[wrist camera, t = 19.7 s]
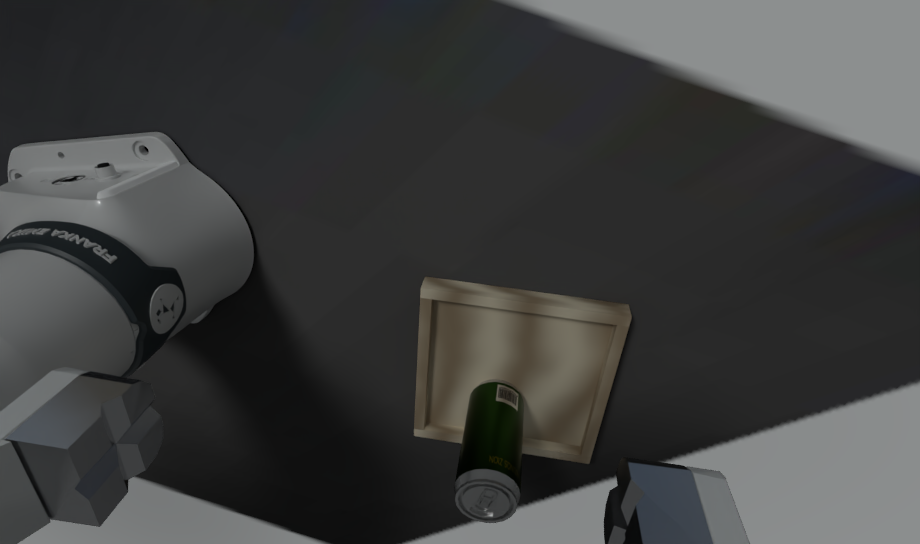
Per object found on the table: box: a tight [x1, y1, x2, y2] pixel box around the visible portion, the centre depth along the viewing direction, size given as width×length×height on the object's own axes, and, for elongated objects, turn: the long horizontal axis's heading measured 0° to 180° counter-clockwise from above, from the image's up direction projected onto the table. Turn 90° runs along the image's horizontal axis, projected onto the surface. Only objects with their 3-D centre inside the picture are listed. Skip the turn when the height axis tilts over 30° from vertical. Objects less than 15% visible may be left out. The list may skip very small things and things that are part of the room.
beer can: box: [454, 379, 524, 523], centre depth 47 cm, size 5×5×12 cm
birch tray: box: [414, 277, 632, 464], centre depth 50 cm, size 18×18×2 cm
